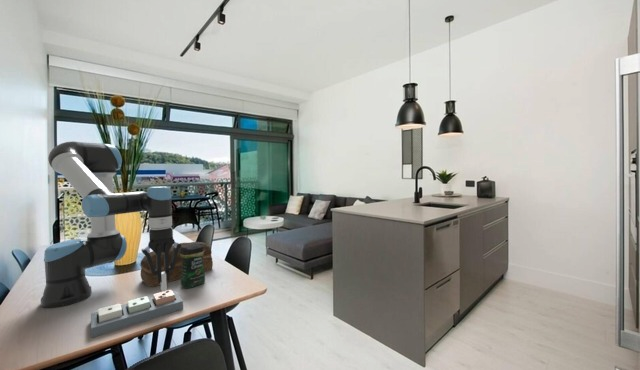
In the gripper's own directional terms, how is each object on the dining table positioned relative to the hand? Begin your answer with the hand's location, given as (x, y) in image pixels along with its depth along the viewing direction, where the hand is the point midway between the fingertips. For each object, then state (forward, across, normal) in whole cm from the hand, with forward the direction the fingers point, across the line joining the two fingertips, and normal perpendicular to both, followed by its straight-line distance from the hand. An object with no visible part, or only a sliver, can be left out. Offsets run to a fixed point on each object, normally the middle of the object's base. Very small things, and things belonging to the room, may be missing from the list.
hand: (163, 289), depth 100 cm
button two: (+4, -8, 0) cm, 9 cm away
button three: (+4, 0, 0) cm, 4 cm away
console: (+7, -8, 0) cm, 11 cm away
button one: (+4, -16, 0) cm, 17 cm away
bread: (+7, +13, +33) cm, 36 cm away
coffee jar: (+7, +14, +15) cm, 22 cm away
